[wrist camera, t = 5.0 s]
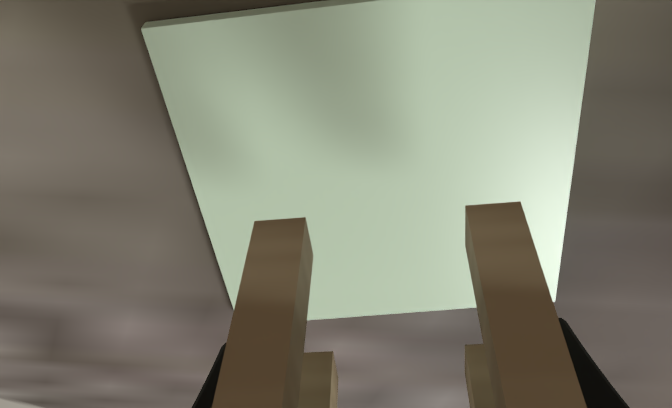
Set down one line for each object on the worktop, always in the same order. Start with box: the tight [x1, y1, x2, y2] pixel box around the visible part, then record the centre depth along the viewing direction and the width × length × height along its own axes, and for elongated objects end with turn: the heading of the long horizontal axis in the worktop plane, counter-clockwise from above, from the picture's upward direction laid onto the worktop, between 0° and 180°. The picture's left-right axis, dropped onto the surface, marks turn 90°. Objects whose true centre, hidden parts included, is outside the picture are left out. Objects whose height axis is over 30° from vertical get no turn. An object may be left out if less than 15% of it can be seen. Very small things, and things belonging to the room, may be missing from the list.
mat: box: [141, 0, 596, 320], centre depth 17 cm, size 10×10×1 cm
